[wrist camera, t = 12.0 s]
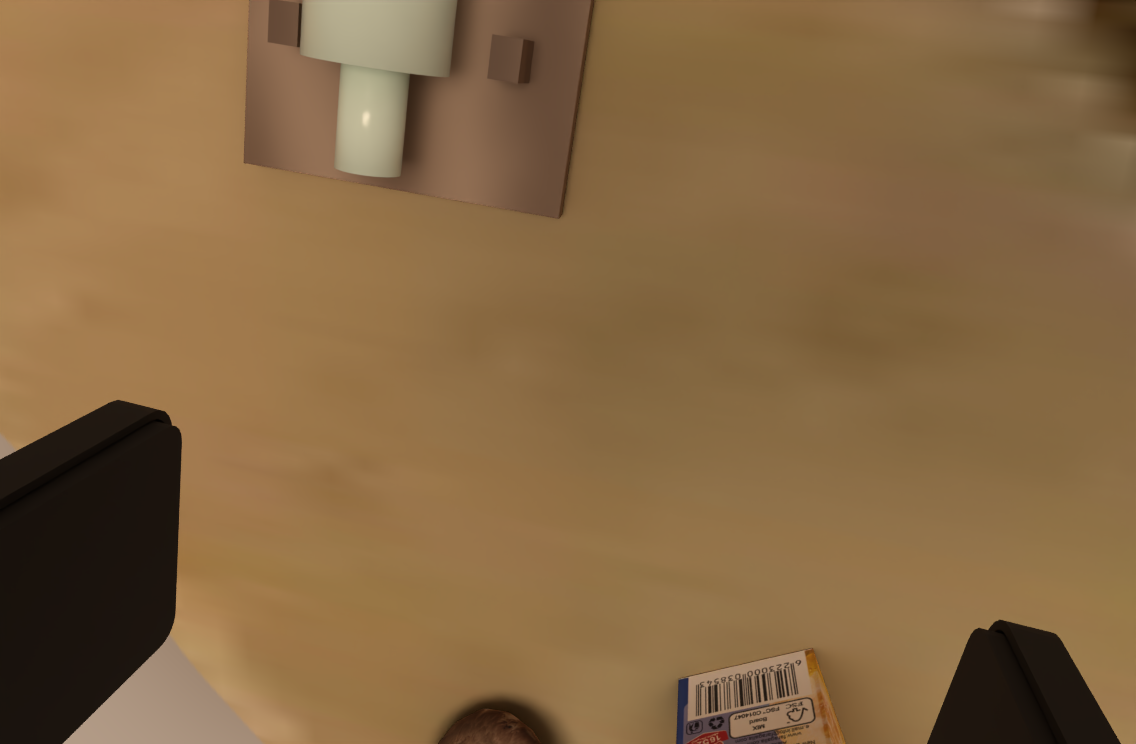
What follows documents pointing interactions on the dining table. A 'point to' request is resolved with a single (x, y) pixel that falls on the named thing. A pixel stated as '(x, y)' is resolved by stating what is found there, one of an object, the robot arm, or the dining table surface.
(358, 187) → the dining table surface
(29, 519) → the robot arm
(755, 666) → the beverage box
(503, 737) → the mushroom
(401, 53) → the sage bottle
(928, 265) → the dining table surface
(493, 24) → the walnut cradle
